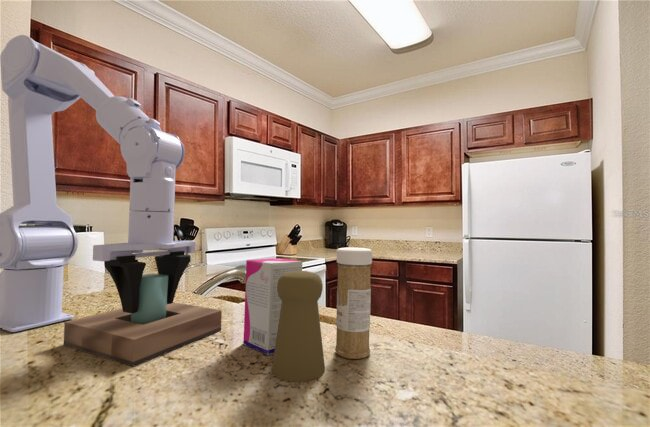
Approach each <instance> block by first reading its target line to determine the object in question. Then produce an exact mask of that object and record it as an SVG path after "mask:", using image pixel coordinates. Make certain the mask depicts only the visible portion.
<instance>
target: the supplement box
mask: <svg viewBox="0 0 650 427" xmlns="http://www.w3.org/2000/svg"><path fill="white" fill-rule="evenodd" d="M245 263H246V264H245V265H246V266H245V292H244V315H243V316H244V318H243V322H244V324H243V325H244V326H243V341H242V342H243V345H245V346H248V347H250V348H252V349H254V350H255V351H258V352H260V353H263V354H265V355H267V356H270V355H272V354H273V355H274V351H275V344H276V338H277V331H278V324H279V317H280V311H281V304H282V300H281V299H280V297H279V296H278V292H277V284H278V280H279V278H280V277H281V276H282V275H283V274H284V273H287V272H292V271H303V261H302V260H296V259H286V258H279V257H278V258H277V257H275V258H261V259H247V260H246V262H245Z"/></svg>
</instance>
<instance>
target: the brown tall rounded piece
mask: <svg viewBox="0 0 650 427" xmlns="http://www.w3.org/2000/svg"><path fill="white" fill-rule="evenodd" d="M323 289H324V288H323V280H322V278H321V276H320V275H319V274H317V273H316V272H312V271H307V270H302V271H292V272H287V273H284V274H283V275H282V276H281V277H280V278H279V280H278V284H277V292H278V296H279V297H280V299H281V300H282V304H281V311H280V317H279V324H278V331H277V338H276V344H275V351H274V353H273V359H272V366H271V373H272V375H273V376H275V378H277V379H280V381H281V380H282V381H285V382H286V381H287V382H292V383H303V382H309V381H312V380H313V381H314V380H316V379H318V378H319V377H321V376H323V374H325V372H326V365H325V355H324V346H323V339H322V331H321V330H322V328H321V321H320V313H319V312H320V311H319V303H318V302H319V300H320V299H321V297H322V293H323Z"/></svg>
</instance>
